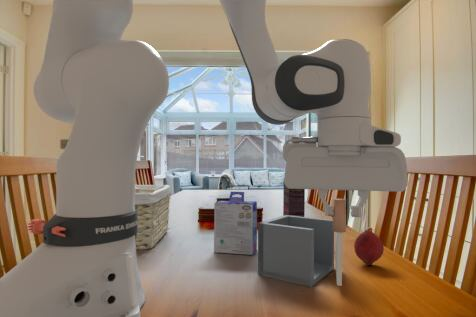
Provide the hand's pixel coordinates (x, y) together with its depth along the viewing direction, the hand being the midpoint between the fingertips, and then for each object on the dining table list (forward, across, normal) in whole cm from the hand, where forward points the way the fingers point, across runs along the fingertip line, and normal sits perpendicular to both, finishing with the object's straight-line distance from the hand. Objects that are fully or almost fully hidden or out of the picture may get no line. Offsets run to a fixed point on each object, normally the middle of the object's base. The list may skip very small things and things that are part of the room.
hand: (342, 216), depth 57 cm
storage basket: (+13, -53, +26) cm, 60 cm away
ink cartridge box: (+13, -23, +20) cm, 33 cm away
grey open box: (+13, -8, +8) cm, 17 cm away
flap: (+12, 0, +5) cm, 12 cm away
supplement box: (+13, -9, +40) cm, 43 cm away
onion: (+13, +7, +15) cm, 21 cm away
